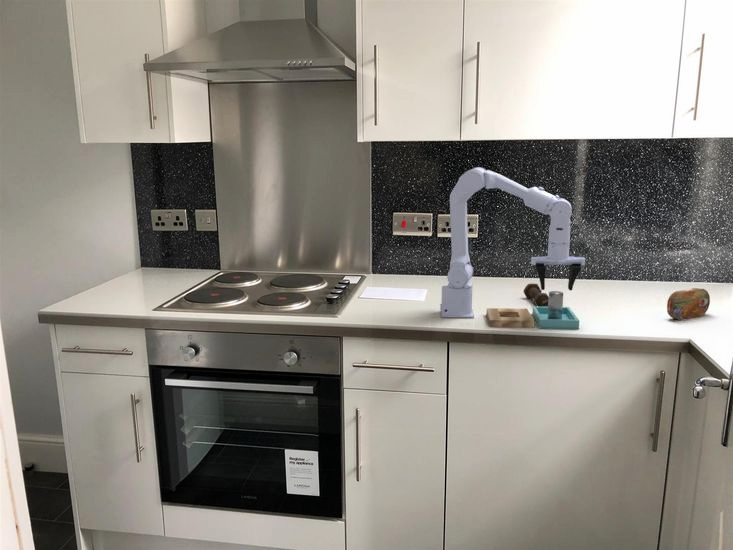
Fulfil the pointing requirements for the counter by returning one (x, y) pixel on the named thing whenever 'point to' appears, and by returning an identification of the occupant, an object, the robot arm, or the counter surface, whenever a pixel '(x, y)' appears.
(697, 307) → the tin
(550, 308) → the pin
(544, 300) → the bolt
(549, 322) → the tray
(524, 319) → the wooden socket board
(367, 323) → the counter surface
